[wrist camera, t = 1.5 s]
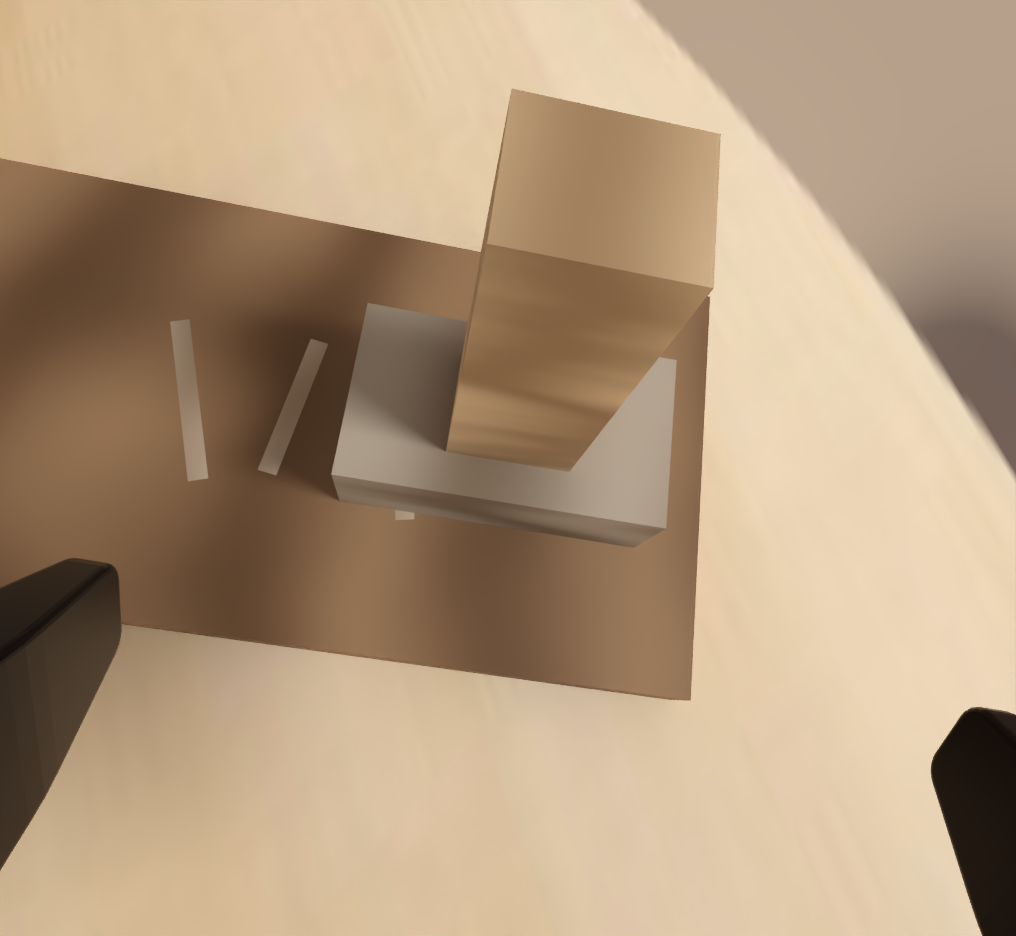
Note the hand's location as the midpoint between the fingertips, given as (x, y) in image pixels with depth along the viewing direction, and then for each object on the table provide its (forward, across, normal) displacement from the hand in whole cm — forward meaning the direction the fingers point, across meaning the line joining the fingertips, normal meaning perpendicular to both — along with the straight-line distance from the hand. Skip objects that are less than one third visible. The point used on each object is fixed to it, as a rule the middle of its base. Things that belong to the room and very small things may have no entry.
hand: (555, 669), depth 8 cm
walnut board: (+13, +5, +5) cm, 15 cm away
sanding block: (+12, 0, +4) cm, 13 cm away
